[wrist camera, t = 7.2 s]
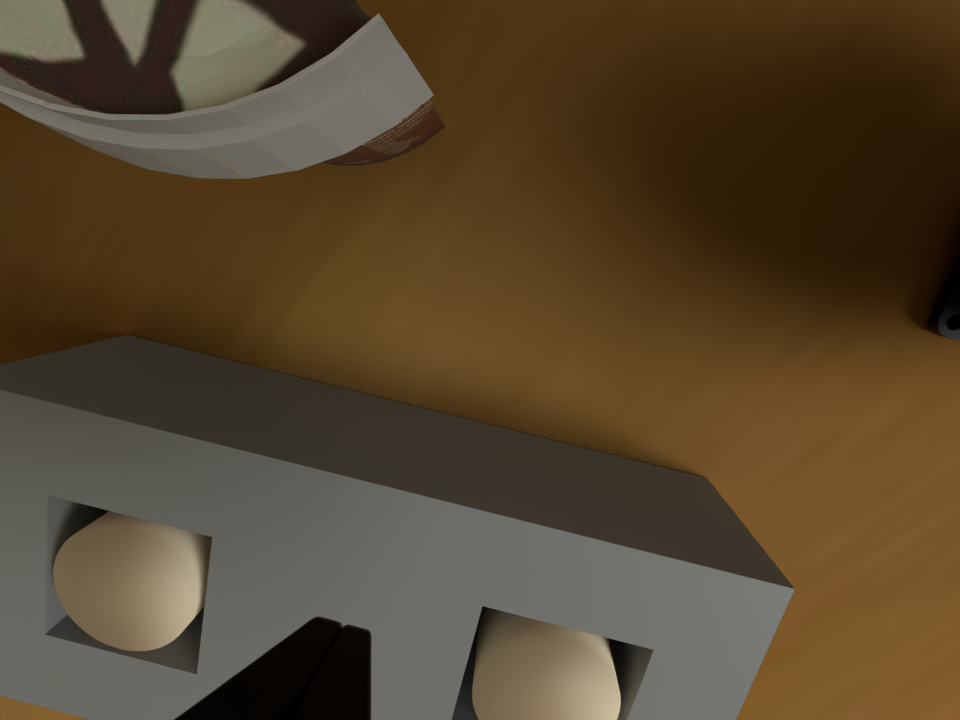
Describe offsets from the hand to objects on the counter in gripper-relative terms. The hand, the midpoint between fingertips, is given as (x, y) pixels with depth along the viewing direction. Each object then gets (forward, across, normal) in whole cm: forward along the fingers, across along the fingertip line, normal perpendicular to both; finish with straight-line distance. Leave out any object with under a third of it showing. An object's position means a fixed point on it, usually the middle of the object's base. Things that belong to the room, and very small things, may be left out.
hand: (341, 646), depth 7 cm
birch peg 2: (+12, -4, +6) cm, 14 cm away
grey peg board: (+11, +2, +6) cm, 13 cm away
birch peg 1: (+11, +8, +6) cm, 15 cm away
